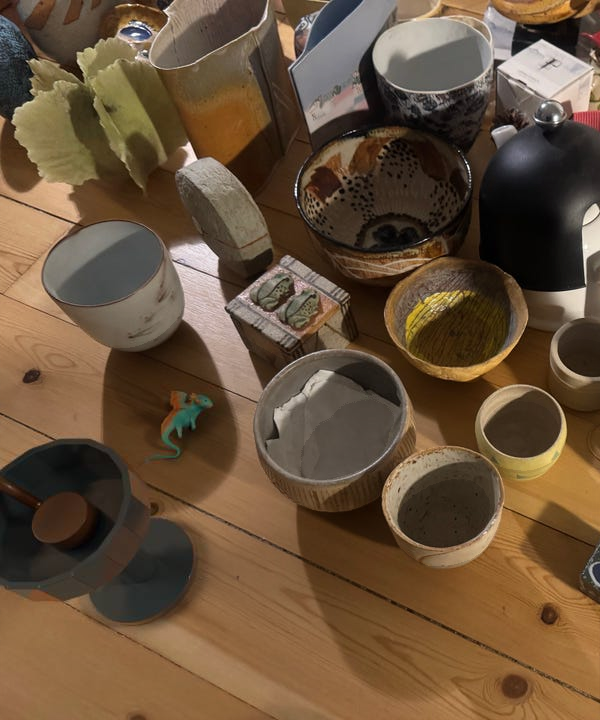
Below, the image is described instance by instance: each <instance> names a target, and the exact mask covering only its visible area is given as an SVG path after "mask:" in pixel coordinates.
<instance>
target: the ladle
mask: <svg viewBox="0 0 600 720" xmlns="http://www.w3.org/2000/svg"><path fill="white" fill-rule="evenodd" d="M0 491H1V492H3V493H5V494H6V495H8V496H10V497H12V498H13V499H15V500H17V501H19V502H20V503H22V504H24V505H25V506H27V507H29V508H31V509H32V510H35V511H36V513H35V515H34V517H33V521H32V530H33V533H34V535H35V537H36V538H37V539H38V540H40V541H41V542H43V543H45V544H47V545H48V546H50V547H52V548H54V549H57V550H69V549H73V548H75V547H78V546H79V545H81V544H83V543H84V542H85V541H86V540H87V539H88V538H89V537H90V536H91V535H92V534H93V532H94V530H95V528H96V526H97V523H98V512H97V509H96V507H95V506H94V505H93V504H92V503H91V502H89V501H88V500H87V499H85V498H84V497H83V496H81V495H80V494H78V493H75V492H62V493H58V494H56V495H53V496H52V497H50V498H48V499H47V500H46V501H45V502H43V501H42V500H41V499H39V498H37V497H36V496H34V495H32V494H31V493H29V492H27V491H25V490H24V489H22V488H20V487H19V486H17V485H15V484H14V483H12V482H10V481H8V480H7V479H5V478H3V477H2V476H0Z"/></svg>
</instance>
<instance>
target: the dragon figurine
mask: <svg viewBox="0 0 600 720" xmlns="http://www.w3.org/2000/svg"><path fill="white" fill-rule="evenodd" d="M186 398H187V393H186V392H183V391H180V390H171V391H170V399H169V401H170V406H171V407H172V409H171V411H170V412H169V413H168V415H167V416H166V417H165V419H164V420H163V422H162V423H161V428H160V436H161V440H162V442H163V443H164V444H165V445H166V446H168V447H169V448H172V449H174V450H176V451H177V453H176V454H175V455H163V454H155V455H152V456H150V457H149V458H147V460H146V461H145V463H144V464H145V465H147V463H148V462H150V460H152V459H154V458H165V459H175V458H178V457H179V456H180V454H181V450H180V448H179V447H178V446H177V445H175V444H173V443H172V442H171V441H170V439H169V436H170V434H171V433H172V432H173V431H174V430H176V432H177V437H178V438H180V439H182V436H183V434H182V432H183V428H184V429H186V428H189V427H190V428H191V430H195V429H196V420H197V418H198V415H200V414H201V413H202V412H203V411H206V410H210V409H211V408H212V407H213V402H212V400H211V399H210V398H209V397H208V396H206V395H203V394H196V393H194V392H191V394H189V397H188V399H189V401H190V402H187V403H186V402H185V401H186V400H187V399H186Z"/></svg>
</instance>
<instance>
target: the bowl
mask: <svg viewBox="0 0 600 720" xmlns="http://www.w3.org/2000/svg"><path fill="white" fill-rule="evenodd" d="M0 476H2V477H3V478H5V479H7V480H8V481H10V482H12V483H14V484H15V485H17V486H19V487H20V488H22V489H24V490H25V491H27V492H29V493H31V494H32V495H34V496H36V497H37V498H39V499H41V500H42V501H43V502H45V501H46V500H47V499H48V498H50V497H52V496H53V495H56V494H58V493H62V492H75V493H78V494H80V495H81V496H83V497H84V498H85V499H87V500H88V501H89V502H91V503H92V504H93V505H94V506H95V507H96V509H97V512H98V523H97V526H96V528H95V530H94V532H93V534H92V535H91V536H90V537H89V538H88V539H87V540H86V541H85V542H84V543H83V544H81V545H79V546H78V547H75V548H73V549H69V550H57V549H54V548H52V547H50V546H48V545H47V544H45V543H43V542H41V541H40V540H38V539H37V538H36V537H35V535H34V533H33V530H32V521H33V517H34V515H35V513H36V511H35V510H32V509H31V508H29V507H27V506H25V505H24V504H22V503H20V502H19V501H17V500H15V499H13V498H12V497H10V496H8V495H6V494H5V493H3V492H1V491H0V587H1V588H2V589H4V590H6V591H9V592H11V593H14V594H16V595H19V596H20V597H23V598H25V599H28V600H30V601H32V602H67V601H71V600H73V599H76V598H80V597H82V596H86V595H88V598H89V601H90V603H91V605H92V607H93V608H94V609H95V611H96V612H97V613H98V614H99V615H101V616H102V617H103V618H105V619H107V620H108V621H111V622H114V623H116V624H119V625H122V626H141V625H146V624H149V623H152V622H154V621H157V620H158V619H161V618H162V617H164V616H165V615H167V614H168V613H170V612H171V611H173V610H174V609H175V608H176V607H177V606H178V605H179V604H180V603H181V602H182V601H183V599H184V598H185V597H186V595H188V593H189V591H190V589H191V587H192V585H193V583H194V581H195V578H196V574H197V570H198V563H199V562H198V561H199V559H198V558H199V557H198V551H197V546H196V544H195V541H194V539H193V538H192V536H191V535H190V534H189V533H188V532H187V531H186V530H185V528H183V527H182V526H180V525H179V524H178V523H176V522H174V521H173V520H169V519H167V518H163V517H162V518H161V517H151V513H152V506H151V500H150V493H149V486H148V484H147V483H146V481H145V480H144V479H143V477H142V476H141V475H140V474H139V472H138V471H137V470H136V468H135V467H134V466H133V465H132V464H131V463H130V462H129V461H128V460H126V458H124V456H122V455H121V454H120V453H119V452H118V451H116V449H114V447H111V446H108V445H106V444H104V443H102V442H99V441H97V440H94V439H93V438H90V437H89V438H88V437H86V438H83V437H82V438H78V437H76V438H75V437H73V438H68V437H67V438H66V437H65V438H63V437H62V438H61V437H60V438H57V439H55V440H51V441H49V442H46V443H42V444H39V445H37V446H34V447H31V448H29V449H27V450H26V451H24V452H23V453H22V454H20V455H18V456H17V457H16V458H15V459H13V460H12V461H10V462H8V463H7V464H6V465H4V466H3V467H2V468H1V469H0Z"/></svg>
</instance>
